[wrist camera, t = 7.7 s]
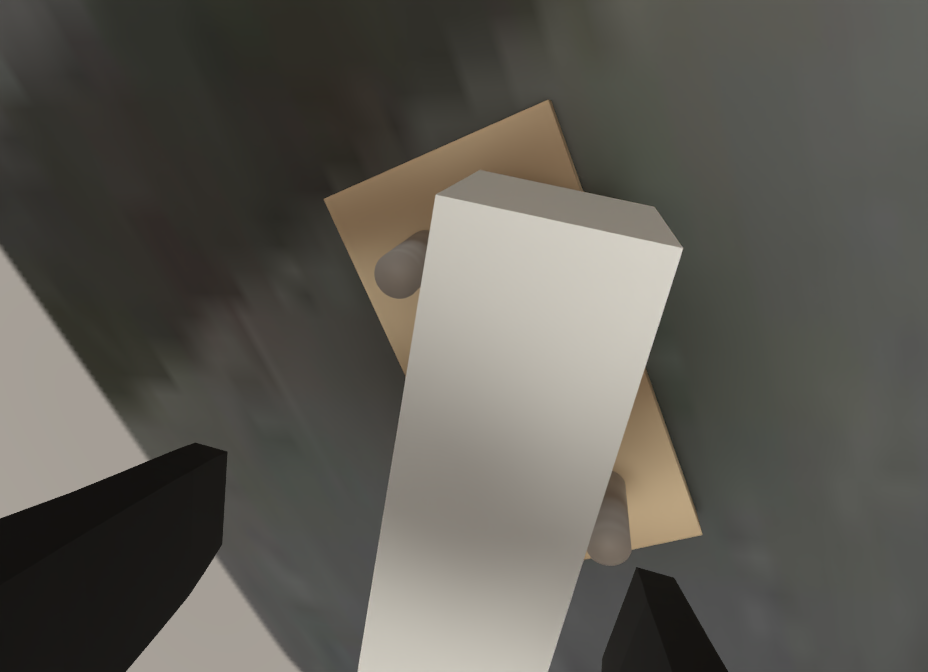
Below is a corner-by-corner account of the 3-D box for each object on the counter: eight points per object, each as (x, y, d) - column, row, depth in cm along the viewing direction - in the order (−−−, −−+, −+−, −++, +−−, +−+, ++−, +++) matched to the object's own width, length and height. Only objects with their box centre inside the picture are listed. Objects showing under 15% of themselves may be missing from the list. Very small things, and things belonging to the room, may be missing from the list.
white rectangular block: (534, 612, 18) (519, 760, 14) (404, 574, 19) (351, 708, 15) (654, 206, 14) (682, 248, 10) (479, 170, 14) (435, 194, 10)
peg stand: (338, 194, 19) (275, 214, 16) (551, 100, 17) (540, 97, 14) (503, 554, 23) (485, 645, 19) (696, 512, 21) (720, 604, 17)
